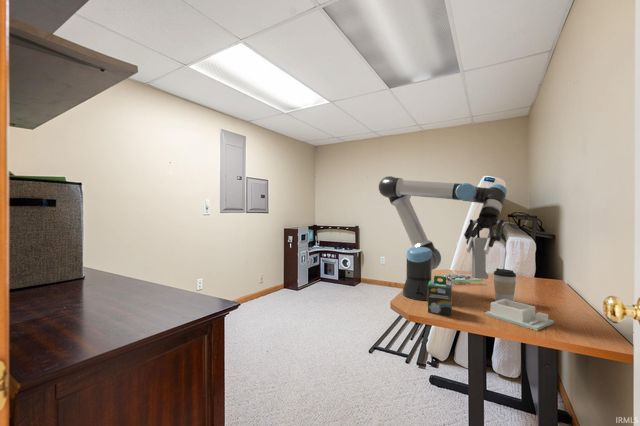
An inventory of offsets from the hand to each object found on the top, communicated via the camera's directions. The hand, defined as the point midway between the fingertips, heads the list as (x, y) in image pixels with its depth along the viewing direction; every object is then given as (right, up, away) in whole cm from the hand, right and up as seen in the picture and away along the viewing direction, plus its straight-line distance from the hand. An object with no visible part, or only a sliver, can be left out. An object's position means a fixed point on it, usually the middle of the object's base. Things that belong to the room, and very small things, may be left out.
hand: (476, 251), depth 117 cm
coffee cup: (+22, -26, +16) cm, 37 cm away
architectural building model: (+13, -26, -6) cm, 29 cm away
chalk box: (-14, -25, +2) cm, 29 cm away
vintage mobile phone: (+3, -12, +2) cm, 12 cm away
